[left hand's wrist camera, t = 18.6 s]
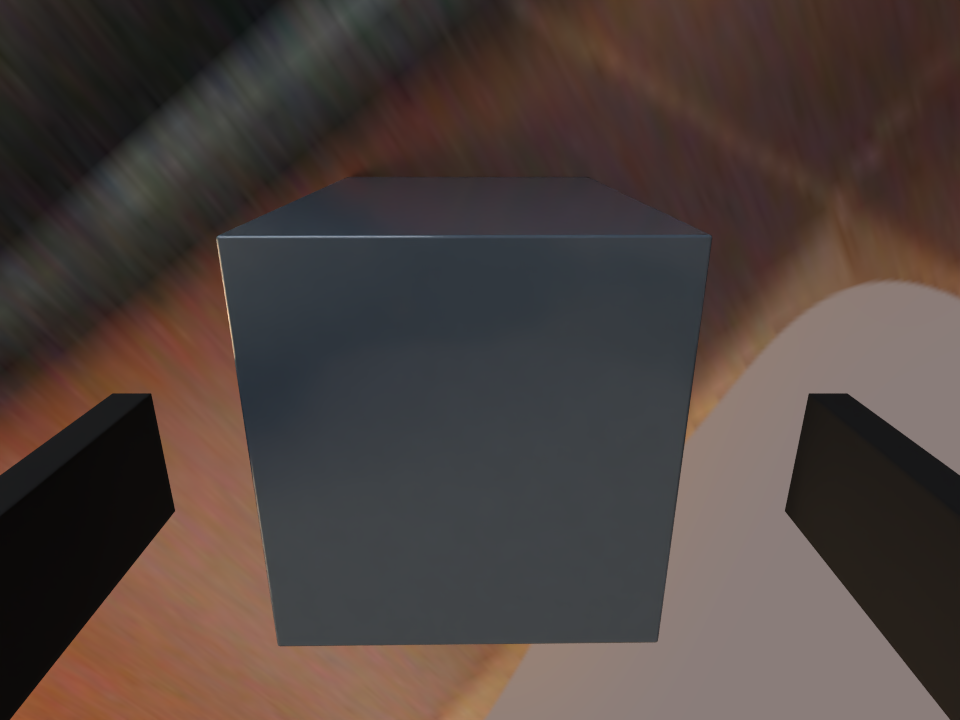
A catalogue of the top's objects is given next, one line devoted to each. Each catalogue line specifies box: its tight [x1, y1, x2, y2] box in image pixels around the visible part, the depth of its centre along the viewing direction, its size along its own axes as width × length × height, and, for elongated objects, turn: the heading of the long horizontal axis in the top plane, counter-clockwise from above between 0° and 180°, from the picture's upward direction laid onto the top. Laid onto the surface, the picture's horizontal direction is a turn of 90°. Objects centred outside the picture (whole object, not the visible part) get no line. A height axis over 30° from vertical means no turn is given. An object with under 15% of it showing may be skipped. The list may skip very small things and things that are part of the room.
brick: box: [216, 177, 712, 646], centre depth 17 cm, size 9×8×12 cm
